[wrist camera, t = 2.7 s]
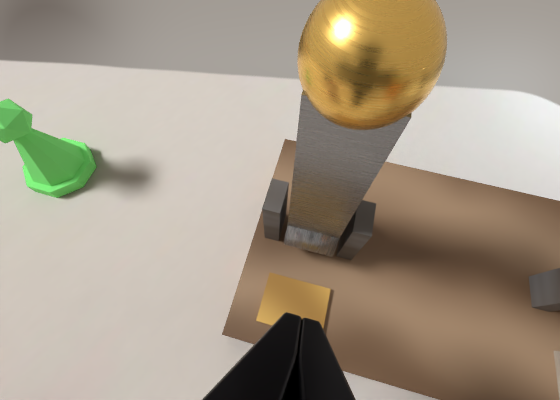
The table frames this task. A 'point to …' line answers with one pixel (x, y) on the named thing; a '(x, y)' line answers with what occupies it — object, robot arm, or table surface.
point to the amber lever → (356, 105)
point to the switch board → (419, 285)
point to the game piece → (45, 154)
